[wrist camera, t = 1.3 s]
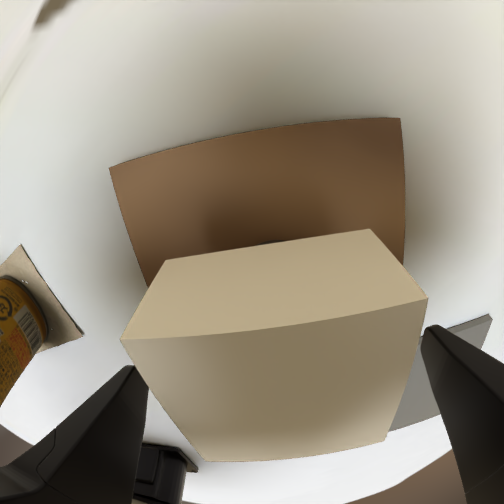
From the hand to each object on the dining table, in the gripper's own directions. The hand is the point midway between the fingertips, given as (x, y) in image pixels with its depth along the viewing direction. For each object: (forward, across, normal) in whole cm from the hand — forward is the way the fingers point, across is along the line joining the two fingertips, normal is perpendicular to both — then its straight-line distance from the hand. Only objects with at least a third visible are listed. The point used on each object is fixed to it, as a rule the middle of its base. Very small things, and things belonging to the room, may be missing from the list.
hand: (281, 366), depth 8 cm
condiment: (+6, +18, +1) cm, 19 cm away
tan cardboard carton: (+2, 0, 0) cm, 2 cm away
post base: (+6, 0, 0) cm, 6 cm away
